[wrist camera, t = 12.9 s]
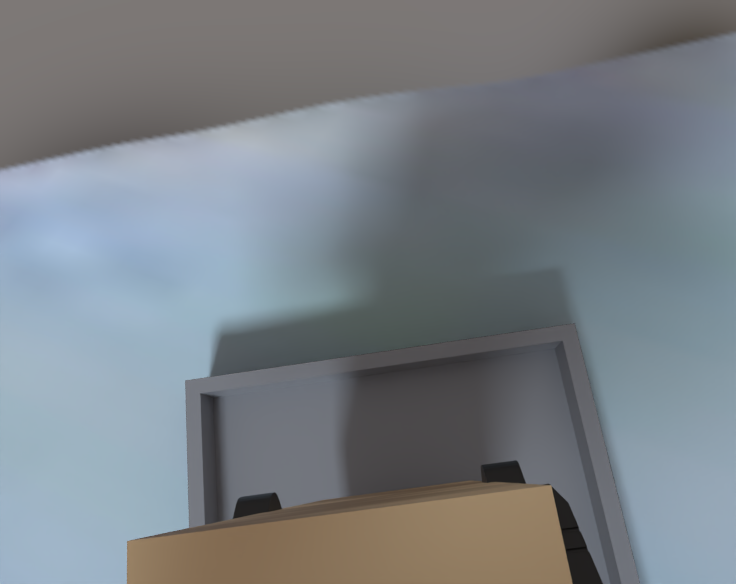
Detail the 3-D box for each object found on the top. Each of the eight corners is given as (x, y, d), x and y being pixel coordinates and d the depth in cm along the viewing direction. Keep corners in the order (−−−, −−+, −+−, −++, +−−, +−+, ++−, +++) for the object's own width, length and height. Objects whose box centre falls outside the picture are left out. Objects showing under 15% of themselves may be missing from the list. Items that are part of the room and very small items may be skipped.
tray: (560, 337, 21) (574, 323, 19) (667, 776, 16) (698, 816, 15) (206, 389, 21) (185, 380, 19) (223, 823, 17) (198, 866, 15)
